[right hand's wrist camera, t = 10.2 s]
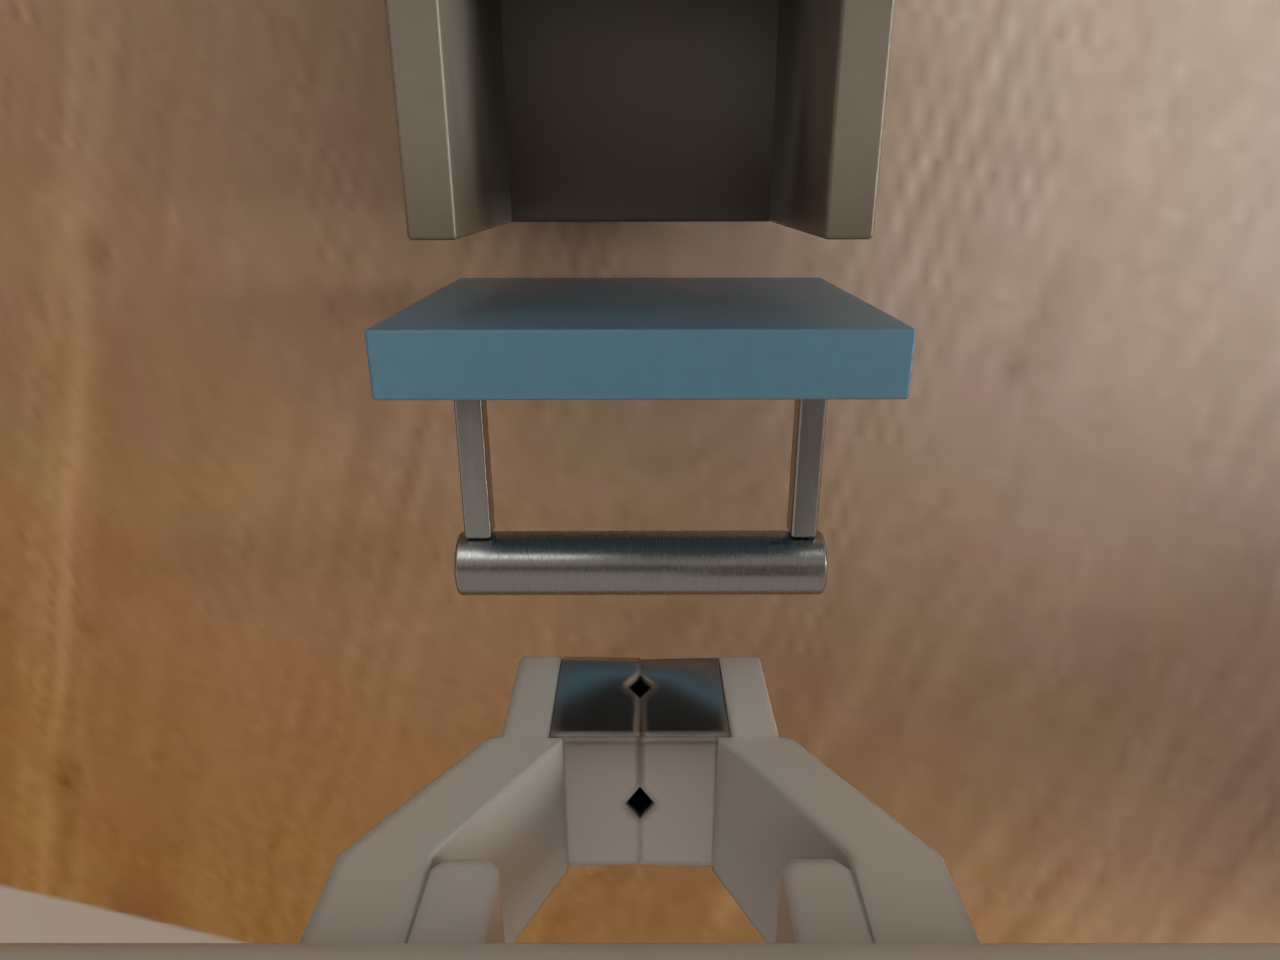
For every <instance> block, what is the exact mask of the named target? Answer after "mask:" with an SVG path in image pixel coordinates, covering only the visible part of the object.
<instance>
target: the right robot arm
mask: <svg viewBox="0 0 1280 960" xmlns="http://www.w3.org/2000/svg"><path fill="white" fill-rule="evenodd" d="M634 864H644V865H679V866H712V870H713V871H714V873H715V874H716V875H717V877H718V878H719V879H720V881H721V882H722V883H723V885H724V886H725V887H726V889H727V890H728V891H729V893H730V894H731V895H732V897H733V898H734V900H735V901H736V902H737V904H738V905H739V906H740V908H741V909H742V910H743V912H744V913H745V914H746V916H747V917H748V918H749V920H750V921H751V922H752V924H753V925H754V926H755V928H756V929H757V930H758V932H759V933H760V934H761V936H762V937H763V938H764V940H765V941H766V942H767V943H514V941H515V940H516V939H517V938H518V936H519V935H520V934H521V932H522V931H523V930H524V928H525V927H526V926H527V924H528V923H529V922H530V920H531V919H532V918H533V916H534V915H535V914H536V912H537V911H538V910H539V908H540V907H541V906H542V904H543V903H544V902H545V900H546V899H547V898H548V896H549V895H550V894H551V892H552V891H553V890H554V888H555V887H556V886H557V884H558V883H559V882H560V880H561V879H562V878H563V876H564V875H565V874H566V872H567V871H568V866H600V865H634ZM0 960H1280V943H980V942H979V939H978V937H977V935H976V933H975V930H974V928H973V926H972V923H971V921H970V919H969V916H968V914H967V912H966V909H965V907H964V905H963V903H962V900H961V898H960V896H959V893H958V891H957V889H956V886H955V884H954V882H953V879H952V877H951V875H950V873H949V870H948V868H947V866H946V863H945V861H944V859H943V857H942V856H941V855H940V854H938V853H937V852H936V851H935V850H933V849H932V848H931V847H930V846H928V845H927V844H926V843H924V842H923V841H922V840H921V839H919V838H918V837H917V836H915V835H914V834H913V833H912V832H910V831H909V830H908V829H907V828H905V827H904V826H903V825H901V824H900V823H899V822H898V821H896V820H895V819H894V818H892V817H891V816H890V815H889V814H887V813H886V812H885V811H884V810H882V809H881V808H880V807H878V806H877V805H876V804H875V803H873V802H872V801H871V800H869V799H868V798H867V797H866V796H864V795H863V794H862V793H861V792H859V791H858V790H857V789H855V788H854V787H853V786H852V785H850V784H849V783H848V782H846V781H845V780H844V779H843V778H841V777H840V776H839V775H838V774H836V773H835V772H834V771H832V770H831V769H830V768H829V767H827V766H826V765H825V764H823V763H822V762H821V761H820V760H818V759H817V758H816V757H815V756H813V755H812V754H811V753H809V752H808V751H807V750H806V749H804V748H803V747H802V746H800V745H799V744H798V743H797V742H795V741H794V740H793V739H792V738H779V736H778V732H777V727H776V723H775V719H774V715H773V711H772V707H771V703H770V699H769V695H768V691H767V687H766V683H765V679H764V674H763V670H762V666H761V662H760V659H759V658H757V657H756V656H741V657H718V658H687V659H640V658H601V657H563V659H562V658H561V657H560V656H548V657H523V658H522V660H521V661H520V662H519V665H518V670H517V674H516V678H515V682H514V686H513V690H512V694H511V698H510V703H509V707H508V711H507V715H506V719H505V723H504V727H503V731H502V736H501V738H489V739H487V740H486V741H485V742H483V743H482V744H481V745H480V746H478V747H477V748H476V749H474V750H473V751H472V752H471V753H469V754H468V755H467V756H465V757H464V758H463V759H462V760H460V761H459V762H458V763H456V764H455V765H454V766H453V767H451V768H450V769H449V770H447V771H446V772H445V773H444V774H442V775H441V776H440V777H438V778H437V779H436V780H435V781H433V782H432V783H431V784H429V785H428V786H427V787H426V788H424V789H423V790H422V791H420V792H419V793H418V794H417V795H415V796H414V797H413V798H412V799H410V800H409V801H408V802H406V803H405V804H404V805H403V806H401V807H400V808H399V809H397V810H396V811H395V812H394V813H392V814H391V815H390V816H388V817H387V818H386V819H385V820H383V821H382V822H381V823H379V824H378V825H377V826H376V827H374V828H373V829H372V830H370V831H369V832H368V833H367V834H365V835H364V836H363V837H361V838H360V839H359V840H358V841H356V842H355V843H354V844H352V845H351V846H350V847H349V848H347V849H346V850H345V851H343V852H342V853H341V854H340V855H338V857H337V860H336V862H335V864H334V867H333V869H332V871H331V873H330V876H329V878H328V880H327V883H326V885H325V887H324V889H323V892H322V894H321V896H320V898H319V901H318V903H317V905H316V908H315V910H314V912H313V914H312V917H311V919H310V921H309V923H308V926H307V928H306V930H305V933H304V935H303V937H302V939H301V942H300V943H0Z"/></svg>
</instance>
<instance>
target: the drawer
mask: <svg viewBox="0 0 1280 960" xmlns="http://www.w3.org/2000/svg"><path fill="white" fill-rule="evenodd" d="M385 4H386V14H387V25H388V35H389V46H390V56H391V66H392V77H393V87H394V98H395V108H396V118H397V129H398V139H399V150H400V160H401V170H402V181H403V191H404V202H405V212H406V222H407V233H408V237H409V239H411V240H455V239H458V238H461V237H464V236H468V235H471V234H474V233H477V232H480V231H483V230H486V229H489V228H492V227H496V226H499V225H502V224H505V223H508V222H690V221H771V222H774V223H777V224H781V225H784V226H787V227H790V228H793V229H796V230H800V231H803V232H806V233H809V234H812V235H816V236H819V237H822V238H825V239H870V238H872V236H873V232H874V221H875V210H876V200H877V189H878V178H879V167H880V157H881V146H882V135H883V124H884V114H885V103H886V92H887V81H888V71H889V60H890V49H891V38H892V28H893V17H894V6H895V0H385ZM365 337H366V345H367V354H368V362H369V371H370V379H371V388H372V396H373V399H375V400H454V408H455V420H456V432H457V444H458V456H459V469H460V481H461V493H462V505H463V517H464V529H465V531H464V532H461V533H460V535H459V538H458V540H457V545H456V551H455V580H456V585H457V589H458V591H459V593H460V594H462V595H720V594H821V593H822V592H823V591H824V588H825V584H826V578H827V552H826V545H825V541H824V538H823V535H822V533H821V532H819V531H817V522H818V509H819V497H820V484H821V472H822V459H823V447H824V434H825V422H826V409H827V399H907V398H908V397H909V391H910V383H911V374H912V365H913V357H914V348H915V339H916V329H914V328H912V327H911V326H909V325H907V324H905V323H903V322H901V321H899V320H898V319H896V318H894V317H892V316H890V315H888V314H886V313H885V312H883V311H881V310H879V309H877V308H875V307H873V306H872V305H870V304H868V303H866V302H864V301H862V300H860V299H859V298H857V297H855V296H853V295H851V294H849V293H848V292H846V291H844V290H842V289H840V288H838V287H836V286H835V285H833V284H831V283H829V282H827V281H825V280H823V279H822V278H461V279H459V280H457V281H455V282H453V283H451V284H449V285H448V286H446V287H444V288H442V289H440V290H438V291H437V292H435V293H433V294H431V295H429V296H427V297H426V298H424V299H422V300H420V301H418V302H416V303H415V304H413V305H411V306H409V307H407V308H406V309H404V310H402V311H400V312H398V313H396V314H395V315H393V316H391V317H389V318H387V319H385V320H384V321H382V322H380V323H378V324H376V325H374V326H373V327H371V328H369V329H367V330H366V331H365ZM674 399H795V410H794V425H793V440H792V455H791V470H790V486H789V501H788V516H787V528H788V531H494V529H495V521H494V506H493V492H492V477H491V463H490V448H489V434H488V419H487V404H486V400H674Z"/></svg>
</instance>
